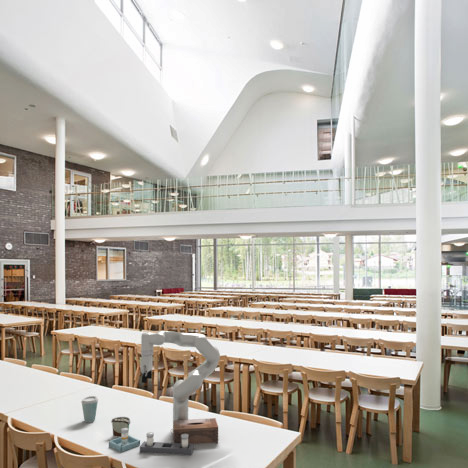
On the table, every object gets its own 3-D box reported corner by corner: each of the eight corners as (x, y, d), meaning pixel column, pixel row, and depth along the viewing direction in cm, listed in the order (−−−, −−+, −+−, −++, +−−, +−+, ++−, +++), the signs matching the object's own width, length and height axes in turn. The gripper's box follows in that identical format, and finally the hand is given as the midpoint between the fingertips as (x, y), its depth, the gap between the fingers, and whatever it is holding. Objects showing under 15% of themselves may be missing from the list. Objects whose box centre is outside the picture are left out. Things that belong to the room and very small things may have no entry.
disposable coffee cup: (92, 424, 278) (92, 401, 279) (77, 423, 280) (78, 400, 281) (100, 418, 289) (101, 396, 290) (86, 417, 291) (86, 395, 292)
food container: (134, 434, 262) (134, 417, 263) (128, 438, 256) (129, 421, 257) (116, 432, 266) (116, 415, 266) (110, 435, 260) (111, 419, 260)
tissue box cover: (215, 434, 262) (215, 418, 263) (218, 444, 248) (218, 426, 249) (173, 437, 258) (173, 420, 259) (173, 447, 244) (173, 429, 245)
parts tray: (127, 440, 252) (127, 434, 253) (140, 446, 244) (140, 440, 244) (108, 447, 243) (108, 441, 243) (120, 453, 235) (121, 447, 235)
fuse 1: (150, 447, 240) (150, 431, 241) (154, 449, 237) (155, 433, 238) (144, 450, 237) (145, 433, 238) (149, 452, 235) (149, 435, 235)
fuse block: (139, 454, 234) (139, 446, 235) (143, 448, 241) (144, 441, 242) (191, 457, 231) (191, 449, 231) (194, 451, 238) (194, 443, 238)
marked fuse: (125, 443, 246) (125, 427, 247) (129, 445, 244) (129, 429, 244) (119, 445, 243) (119, 429, 244) (123, 447, 241) (123, 431, 241)
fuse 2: (185, 449, 238) (185, 433, 239) (189, 451, 235) (190, 435, 236) (179, 451, 235) (179, 435, 236) (184, 454, 232) (184, 437, 233)
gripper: (145, 349, 276) (145, 376, 274) (136, 355, 258) (136, 384, 257) (157, 350, 275) (156, 377, 273) (148, 355, 258) (148, 384, 256)
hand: (146, 380), depth 265 cm, fingers open, 9 cm apart
